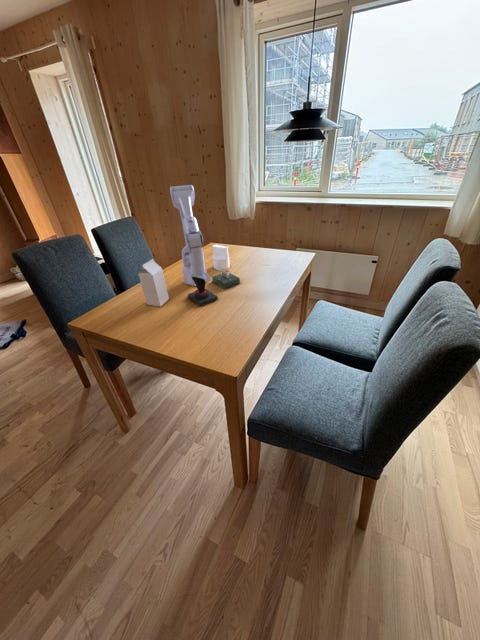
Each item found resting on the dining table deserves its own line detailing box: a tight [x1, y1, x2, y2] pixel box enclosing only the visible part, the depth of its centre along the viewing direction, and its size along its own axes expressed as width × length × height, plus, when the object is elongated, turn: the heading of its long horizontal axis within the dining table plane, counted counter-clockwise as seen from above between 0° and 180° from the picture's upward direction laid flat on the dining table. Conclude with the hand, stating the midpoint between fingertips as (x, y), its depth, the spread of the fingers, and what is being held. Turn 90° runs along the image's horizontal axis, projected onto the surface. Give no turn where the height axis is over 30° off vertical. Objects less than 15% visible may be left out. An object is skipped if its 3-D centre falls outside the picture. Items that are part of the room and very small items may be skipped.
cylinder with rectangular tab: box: [211, 244, 231, 271], centre depth 146 cm, size 9×9×12 cm
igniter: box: [187, 288, 218, 307], centre depth 118 cm, size 11×9×4 cm
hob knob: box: [220, 269, 230, 279], centre depth 129 cm, size 5×2×4 cm, turn 37°
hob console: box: [211, 272, 241, 290], centre depth 131 cm, size 11×9×3 cm
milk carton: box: [137, 258, 170, 307], centre depth 114 cm, size 7×7×19 cm
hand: (201, 291), depth 117 cm, fingers closed, pressing on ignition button
